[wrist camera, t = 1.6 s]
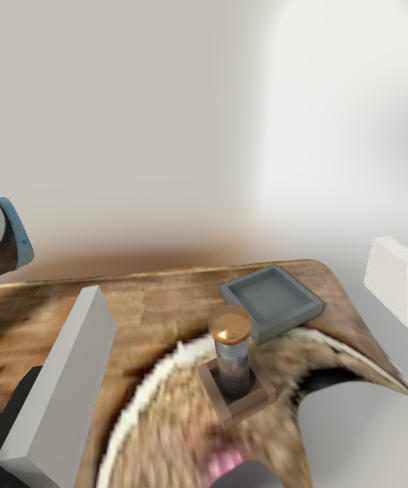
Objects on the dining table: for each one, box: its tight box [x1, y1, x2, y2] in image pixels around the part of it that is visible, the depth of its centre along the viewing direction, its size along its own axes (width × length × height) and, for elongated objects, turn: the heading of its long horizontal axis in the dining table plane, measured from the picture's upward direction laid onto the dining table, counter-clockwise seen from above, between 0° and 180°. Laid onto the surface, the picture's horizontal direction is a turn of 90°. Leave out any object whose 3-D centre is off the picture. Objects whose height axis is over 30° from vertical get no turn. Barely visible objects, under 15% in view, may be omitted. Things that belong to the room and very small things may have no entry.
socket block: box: [198, 352, 276, 431], centre depth 32 cm, size 7×7×2 cm
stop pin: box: [208, 304, 252, 400], centre depth 29 cm, size 4×4×12 cm
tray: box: [220, 264, 323, 345], centre depth 43 cm, size 12×12×2 cm
